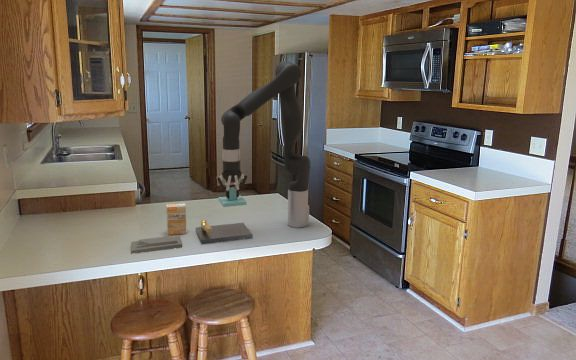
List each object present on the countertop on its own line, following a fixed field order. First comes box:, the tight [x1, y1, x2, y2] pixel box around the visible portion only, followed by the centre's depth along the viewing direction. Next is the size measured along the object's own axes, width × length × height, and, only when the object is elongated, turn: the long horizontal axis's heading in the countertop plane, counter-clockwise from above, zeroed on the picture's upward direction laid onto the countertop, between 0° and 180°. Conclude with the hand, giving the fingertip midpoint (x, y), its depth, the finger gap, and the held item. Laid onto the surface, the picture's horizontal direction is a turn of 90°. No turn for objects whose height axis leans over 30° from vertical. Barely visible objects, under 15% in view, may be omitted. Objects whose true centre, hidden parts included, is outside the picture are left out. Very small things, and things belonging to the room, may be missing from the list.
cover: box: [218, 186, 247, 208], centre depth 203 cm, size 10×10×6 cm
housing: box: [195, 222, 253, 245], centre depth 206 cm, size 22×16×2 cm
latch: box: [200, 219, 212, 233], centre depth 202 cm, size 10×2×4 cm, turn 25°
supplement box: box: [166, 202, 187, 236], centre depth 207 cm, size 8×5×13 cm, turn 105°
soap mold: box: [130, 235, 184, 254], centre depth 193 cm, size 10×20×4 cm, turn 110°
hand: (232, 197), depth 203 cm, fingers closed on cover, 3 cm apart
